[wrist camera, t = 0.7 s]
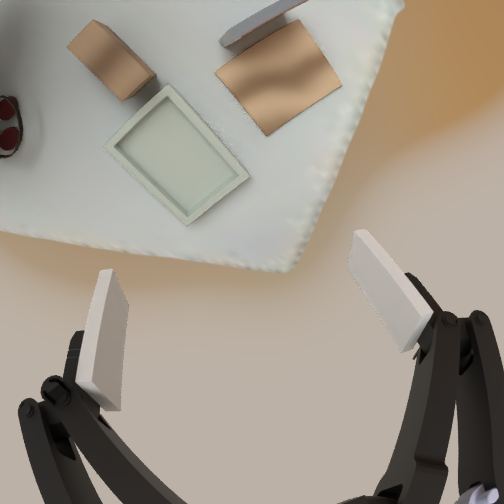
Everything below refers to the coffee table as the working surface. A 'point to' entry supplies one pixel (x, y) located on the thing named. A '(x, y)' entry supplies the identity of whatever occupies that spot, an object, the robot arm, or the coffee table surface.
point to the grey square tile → (258, 20)
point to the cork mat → (279, 76)
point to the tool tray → (176, 156)
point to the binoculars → (10, 135)
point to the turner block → (111, 60)
